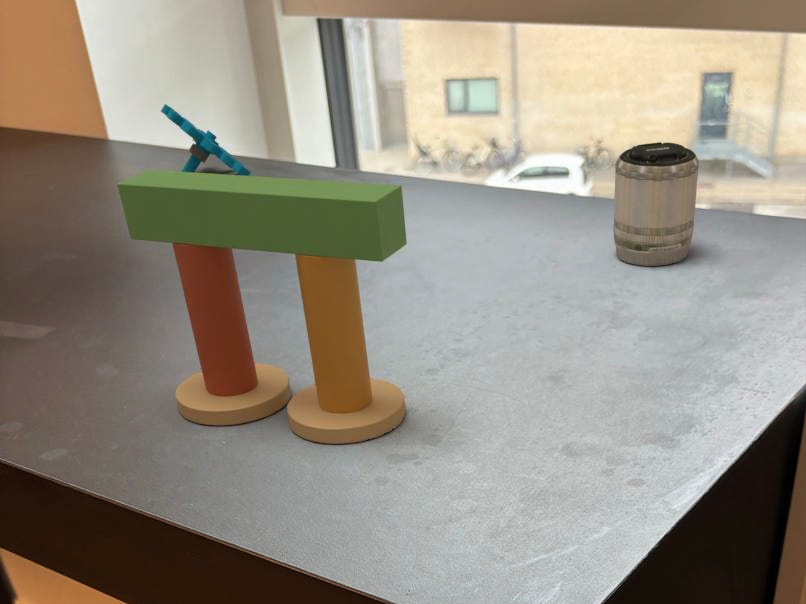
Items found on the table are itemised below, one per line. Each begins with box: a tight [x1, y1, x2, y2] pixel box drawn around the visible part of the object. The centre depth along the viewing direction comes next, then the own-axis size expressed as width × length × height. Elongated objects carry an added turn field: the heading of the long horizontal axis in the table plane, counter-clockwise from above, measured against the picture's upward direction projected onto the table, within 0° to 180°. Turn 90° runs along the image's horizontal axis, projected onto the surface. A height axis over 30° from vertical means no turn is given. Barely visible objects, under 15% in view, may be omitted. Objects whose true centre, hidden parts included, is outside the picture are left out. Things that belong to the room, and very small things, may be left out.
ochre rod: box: [286, 254, 407, 445], centre depth 58 cm, size 7×7×10 cm
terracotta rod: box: [171, 243, 292, 426], centre depth 60 cm, size 7×7×10 cm
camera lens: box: [613, 141, 700, 267], centre depth 79 cm, size 6×6×8 cm
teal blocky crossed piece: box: [160, 103, 251, 176], centre depth 104 cm, size 11×6×10 cm
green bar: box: [116, 169, 408, 263], centre depth 55 cm, size 16×3×3 cm, turn 68°
